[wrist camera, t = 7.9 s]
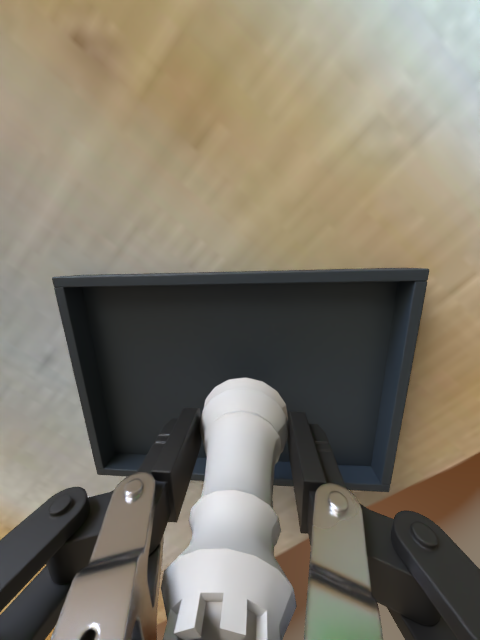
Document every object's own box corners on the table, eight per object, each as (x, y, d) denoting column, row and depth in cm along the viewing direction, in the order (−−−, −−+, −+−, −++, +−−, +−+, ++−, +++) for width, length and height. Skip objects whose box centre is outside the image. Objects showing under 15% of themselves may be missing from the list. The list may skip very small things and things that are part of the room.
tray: (77, 275, 15) (51, 277, 13) (406, 267, 13) (430, 268, 11) (113, 453, 18) (97, 475, 16) (374, 466, 16) (389, 492, 15)
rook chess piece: (270, 361, 11) (293, 575, 4) (298, 433, 12) (363, 723, 5) (192, 386, 12) (72, 608, 4) (223, 452, 13) (170, 730, 5)
